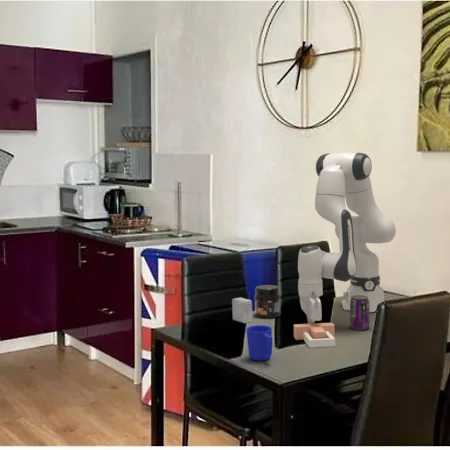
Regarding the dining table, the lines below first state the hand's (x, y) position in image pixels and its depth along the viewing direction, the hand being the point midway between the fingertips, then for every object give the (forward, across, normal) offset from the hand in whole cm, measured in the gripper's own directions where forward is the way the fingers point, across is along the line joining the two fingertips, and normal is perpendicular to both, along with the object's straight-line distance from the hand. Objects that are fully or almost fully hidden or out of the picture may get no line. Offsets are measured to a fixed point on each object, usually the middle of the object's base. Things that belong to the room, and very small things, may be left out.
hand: (311, 326), depth 241 cm
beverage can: (+2, +1, -19) cm, 19 cm away
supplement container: (+2, +27, +12) cm, 30 cm away
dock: (+2, -14, 0) cm, 14 cm away
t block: (+2, -11, +1) cm, 11 cm away
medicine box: (+2, +21, +23) cm, 32 cm away
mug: (+2, -31, +23) cm, 38 cm away
